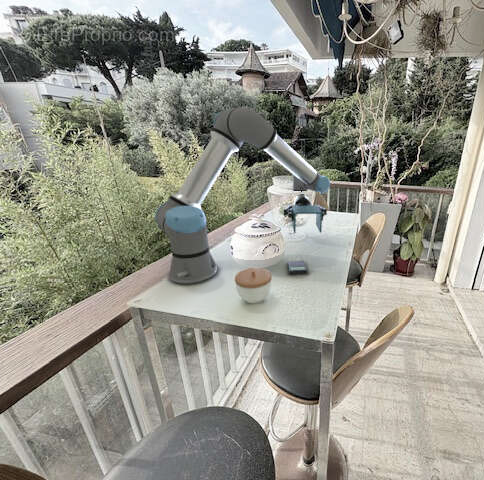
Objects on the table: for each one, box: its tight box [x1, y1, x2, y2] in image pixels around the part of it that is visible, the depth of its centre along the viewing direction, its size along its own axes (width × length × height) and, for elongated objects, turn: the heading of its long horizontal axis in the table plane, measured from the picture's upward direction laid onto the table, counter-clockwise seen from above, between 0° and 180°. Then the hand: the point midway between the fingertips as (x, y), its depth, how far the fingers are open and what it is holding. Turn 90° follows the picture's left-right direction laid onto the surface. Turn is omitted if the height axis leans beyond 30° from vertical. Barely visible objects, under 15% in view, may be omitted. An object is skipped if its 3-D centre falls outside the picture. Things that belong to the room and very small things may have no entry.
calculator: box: [287, 260, 308, 275], centre depth 101 cm, size 8×6×2 cm
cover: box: [291, 204, 323, 234], centre depth 109 cm, size 11×11×8 cm
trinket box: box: [234, 267, 273, 304], centre depth 80 cm, size 11×11×9 cm
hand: (307, 217), depth 105 cm, fingers closed on cover, 11 cm apart
